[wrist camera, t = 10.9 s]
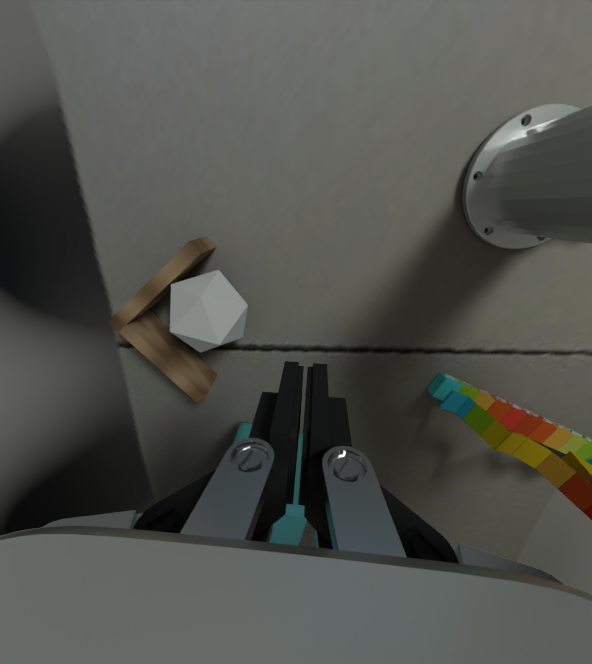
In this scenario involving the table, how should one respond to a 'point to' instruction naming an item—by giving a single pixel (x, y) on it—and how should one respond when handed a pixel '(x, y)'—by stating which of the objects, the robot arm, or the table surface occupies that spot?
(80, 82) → the table surface
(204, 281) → the die
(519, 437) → the chart
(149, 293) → the bracket
